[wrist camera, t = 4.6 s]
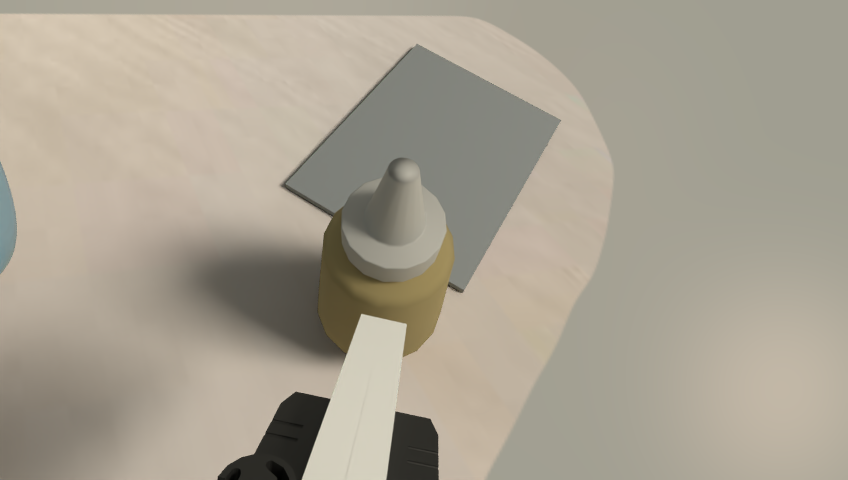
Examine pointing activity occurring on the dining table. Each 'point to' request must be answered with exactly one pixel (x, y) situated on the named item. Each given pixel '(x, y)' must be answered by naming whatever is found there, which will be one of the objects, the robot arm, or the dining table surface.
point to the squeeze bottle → (386, 258)
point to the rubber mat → (436, 149)
